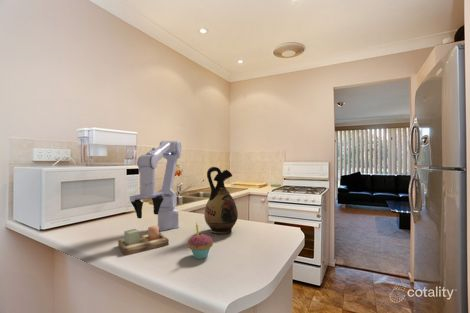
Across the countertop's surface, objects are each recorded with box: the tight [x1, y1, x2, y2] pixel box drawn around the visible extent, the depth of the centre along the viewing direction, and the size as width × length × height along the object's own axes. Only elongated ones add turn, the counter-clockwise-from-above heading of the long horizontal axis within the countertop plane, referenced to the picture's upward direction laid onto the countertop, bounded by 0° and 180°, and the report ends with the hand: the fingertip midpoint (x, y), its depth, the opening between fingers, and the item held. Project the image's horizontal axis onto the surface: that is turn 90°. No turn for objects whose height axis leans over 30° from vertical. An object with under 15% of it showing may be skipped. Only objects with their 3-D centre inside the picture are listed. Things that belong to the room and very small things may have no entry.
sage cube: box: [123, 228, 141, 246], centre depth 88 cm, size 4×4×5 cm
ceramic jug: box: [203, 166, 239, 235], centre depth 107 cm, size 17×15×30 cm
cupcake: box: [187, 222, 214, 260], centre depth 80 cm, size 9×8×12 cm
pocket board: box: [117, 231, 170, 256], centre depth 90 cm, size 16×11×2 cm
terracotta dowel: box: [147, 225, 160, 241], centre depth 93 cm, size 4×4×5 cm
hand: (147, 216), depth 96 cm, fingers open, 7 cm apart
